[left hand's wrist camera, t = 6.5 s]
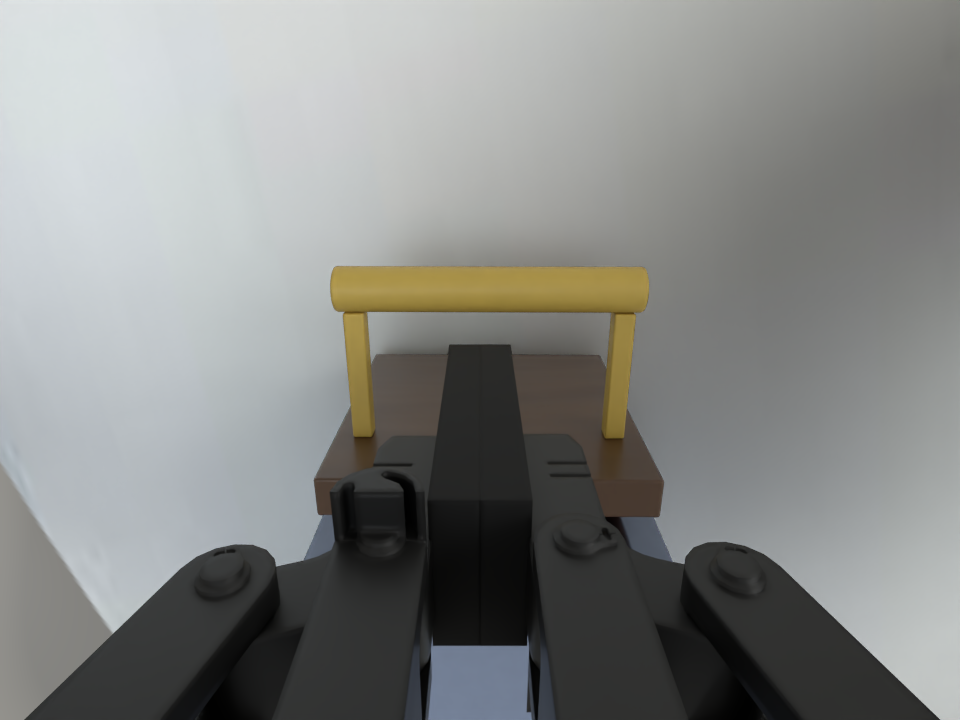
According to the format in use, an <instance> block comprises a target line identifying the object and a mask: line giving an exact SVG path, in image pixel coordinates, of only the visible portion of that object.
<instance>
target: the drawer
mask: <svg viewBox="0 0 960 720" xmlns="http://www.w3.org/2000/svg"><path fill="white" fill-rule="evenodd" d="M330 293H331V300H332V304H333V307H334V309H335V310H336V311H338V312H344V314H343V323H344V335H345V346H346V358H347V369H348V380H349V392H350V403H351V406H350V408H349V410H348V412H347V414H346V416H345V418H344V420H343V422H342V424H341V426H340V428H339V430H338V432H337V434H336V436H335V438H334V440H333V442H332V444H331V446H330V448H329V450H328V452H327V454H326V456H325V458H324V460H323V462H322V464H321V466H320V468H319V470H318V472H317V474H316V476H315V478H314V486H315V494H316V503H317V511H318V514H319V515H332V511H331V502H330V490H331V489H332V488H333V487H334V485H335V484H336V483H337V482H338V481H339V480H341V479H342V478H344V477H346V476H347V475H349V474H351V473H354V472H357V471H360V470H363V469H366V468H372V467H373V463H374V460H375V457H376V454H377V450H378V448H379V447H380V446H381V445H383V444H384V443H385V442H386V441H387V440H388V439H389V438H390V437H392V436H437V429H438V422H439V415H440V408H441V401H442V394H443V387H444V380H445V373H446V366H447V359H448V355H410V354H377V355H376V356H375V358H374V360H373V362H372V364H371V360H370V346H369V332H368V318H367V312H599V313H611V321H610V333H609V345H608V357H607V369H606V367H605V365H604V363H603V361H602V359H601V357H600V356H599V355H512V359H513V366H514V373H515V380H516V387H517V394H518V401H519V408H520V415H521V422H522V429H523V434H568V435H569V436H571V437H572V438H573V439H574V440H575V441H576V442H577V443H578V444H580V445H581V446H582V448H583V451H584V454H585V457H586V460H587V465H588V467H589V470H590V473H591V477H592V479H593V482H594V485H595V488H596V491H597V494H598V497H599V500H600V504H601V507H602V510H603V513H604V516H605V517H659V516H660V510H661V502H662V495H663V487H664V480H663V478H662V476H661V474H660V473H659V471H658V469H657V467H656V465H655V463H654V461H653V459H652V457H651V455H650V453H649V451H648V449H647V447H646V445H645V443H644V441H643V439H642V437H641V435H640V433H639V431H638V429H637V427H636V426H635V424H634V422H633V420H632V418H631V416H630V414H629V412H628V410H627V401H628V391H629V381H630V371H631V361H632V351H633V341H634V331H635V321H636V315H635V314H634V313H641V312H643V311H644V310H645V308H646V305H647V301H648V295H649V279H648V274H647V271H646V269H645V268H643V267H469V266H336V267H334V269H333V271H332V274H331V281H330Z"/></svg>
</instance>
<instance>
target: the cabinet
mask: <svg viewBox="0 0 960 720" xmlns="http://www.w3.org/2000/svg"><path fill="white" fill-rule="evenodd" d="M605 519H606V521H607V522H609V523H610V524H612V525H613V526H614V527H616V528H617V529H618V530H619V531H620V533H621V534H622V536H623V537H624V539H625V541H626V543H627V546H628V547H629V548H631V549H633V550H635V551H637V552H639V553H641V554H644V555H647V556H651V557H654V558H658V559H662V560H667V561H671V562H673V561H672V559H671V557H670V554H669V552H668V550H667V548H666V545H665V543H664V541H663V538H662V536H661V534H660V531H659V529H658V527H657V525H656V522H655V520H654V518H653V517H605ZM334 541H335V538H334V529H333V520H332V515H323V517H322V519H321V521H320V524H319V526H318V528H317V531H316V533H315V535H314V538H313V540H312V542H311V545H310V547H309V549H308V552H307V554H306V556H305V559H304V560H307V559H311V558H314V557H317V556H320V555H322V554H324V553H326V552H328V551H330V550H332V547H333V544H334ZM431 663H432V682H431V694H430V706H429V717H428V720H532V717H531V712H527V688H528V663H529V643H528V638H527V646H433V638H432V646H431Z"/></svg>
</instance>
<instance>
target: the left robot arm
mask: <svg viewBox="0 0 960 720" xmlns="http://www.w3.org/2000/svg"><path fill="white" fill-rule="evenodd" d="M330 502H331V511H332V520H333V529H334V538H335V541H334V544H333V547H332V550H330V551H328V552H326V553H324V554H322V555H320V556H317V557H314V558H311V559H307V560H304V561H300V562H295V563H291V564H286V565H282V566H278V567H276V565H275V559H274V558H273V557H272V556H271V554H270V553H269V552H268V551H267V550H265V549H262V548H260V547H257V546H254V545H230V546H226V547H221V548H216V549H214V550H211V551H209V552H207V553H204V554H202V555H200V556H198V557H196V558H195V559H193V560H192V561H190V562H189V563H188V564H186V565H185V566H184V567H182V568H181V569H180V570H179V571H178V572H177V573H176V574H175V575H174V576H173V577H172V578H171V579H170V580H168V581H167V582H166V583H165V584H164V585H163V586H162V587H161V588H160V589H159V590H158V591H157V592H156V593H155V594H154V595H153V596H152V597H151V598H150V599H149V600H148V601H147V602H146V603H145V604H144V605H143V606H142V607H141V608H140V609H138V610H137V611H136V612H135V613H134V614H133V615H132V616H131V617H130V618H129V619H128V620H127V621H126V622H125V623H124V624H123V625H122V626H121V627H120V628H119V629H118V630H117V631H116V632H115V633H114V634H113V635H112V636H111V637H110V638H108V639H107V640H106V641H105V642H104V643H103V644H102V645H101V646H100V647H99V648H98V649H97V650H96V651H95V652H94V653H93V654H92V655H91V656H90V657H89V658H88V659H87V660H86V661H85V662H84V663H83V664H82V665H81V666H80V667H78V668H77V669H76V670H75V671H74V672H73V673H72V674H71V675H70V676H69V677H68V678H67V679H66V680H65V681H64V682H63V683H62V684H61V685H60V686H59V687H58V688H57V689H56V690H55V691H54V692H53V693H52V694H51V695H50V696H48V697H47V698H46V699H45V700H44V701H43V702H42V703H41V704H40V705H39V706H38V707H37V708H36V709H35V710H34V711H33V712H32V713H31V714H30V715H29V716H28V717H27V718H26V719H25V720H428V717H429V706H430V694H431V682H432V663H431V646H432V638H433V646H527V638H528V643H529V663H528V688H527V712H531V717H532V720H940V719H939V718H938V717H937V716H936V715H935V714H934V713H933V712H932V711H930V710H929V709H928V708H927V707H926V706H925V705H924V704H923V703H922V702H921V701H920V700H919V699H918V698H917V697H916V696H915V695H914V694H913V693H912V692H911V691H910V690H909V689H908V688H906V687H905V686H904V685H903V684H902V683H901V682H900V681H899V680H898V679H897V678H896V677H895V676H894V675H893V674H892V673H891V672H890V671H889V670H888V669H887V668H886V667H885V666H884V665H883V664H881V663H880V662H879V661H878V660H877V659H876V658H875V657H874V656H873V655H872V654H871V653H870V652H869V651H868V650H867V649H866V648H865V647H864V646H863V645H862V644H861V643H860V642H859V641H857V640H856V639H855V638H854V637H853V636H852V635H851V634H850V633H849V632H848V631H847V630H846V629H845V628H844V627H843V626H842V625H841V624H840V623H839V622H838V621H837V620H836V619H835V618H834V617H832V616H831V615H830V614H829V613H828V612H827V611H826V610H825V609H824V608H823V607H822V606H821V605H820V604H819V603H818V602H817V601H816V600H815V599H814V598H813V597H812V596H811V595H810V594H808V593H807V592H806V591H805V590H804V589H803V588H802V587H801V586H800V585H799V584H798V583H797V582H796V581H795V580H794V579H793V578H792V577H791V576H790V575H789V574H788V573H787V572H786V571H785V570H783V569H782V568H781V567H780V566H779V565H778V564H776V563H775V562H774V561H772V560H771V559H770V558H768V557H767V556H765V555H764V554H762V553H760V552H757V551H755V550H753V549H750V548H748V547H746V546H742V545H737V544H733V543H728V542H708V543H705V544H702V545H699V546H697V547H694V548H693V549H692V550H691V551H690V552H689V553H688V555H687V556H686V558H685V565H684V564H680V563H676V562H671V561H667V560H662V559H658V558H654V557H651V556H647V555H644V554H641V553H639V552H637V551H635V550H633V549H631V548H629V547H628V546H627V543H626V541H625V539H624V537H623V536H622V534H621V533H620V531H619V530H618V529H617V528H616V527H614V526H613V525H612V524H610V523H609V522H607V521H606V519H605V516H604V513H603V510H602V507H601V504H600V500H599V497H598V494H597V491H596V488H595V485H594V482H593V479H592V477H591V473H590V470H589V467H588V465H587V460H586V457H585V454H584V451H583V448H582V446H581V445H580V444H578V443H577V442H576V441H575V440H574V439H573V438H572V437H571V436H569V435H568V434H523V429H522V422H521V415H520V408H519V401H518V394H517V387H516V380H515V373H514V366H513V359H512V352H511V345H449V352H448V359H447V366H446V373H445V380H444V387H443V394H442V401H441V408H440V415H439V422H438V429H437V436H392V437H390V438H389V439H388V440H387V441H386V442H385V443H384V444H383V445H381V446H380V447H379V448H378V450H377V454H376V457H375V460H374V463H373V467H372V468H366V469H363V470H360V471H357V472H354V473H351V474H349V475H347V476H346V477H344V478H342V479H341V480H339V481H338V482H337V483H336V484H335V485H334V487H333V488H332V489H331V490H330Z"/></svg>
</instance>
